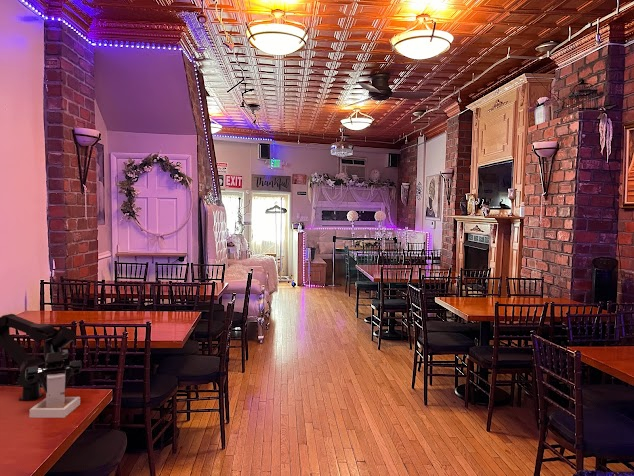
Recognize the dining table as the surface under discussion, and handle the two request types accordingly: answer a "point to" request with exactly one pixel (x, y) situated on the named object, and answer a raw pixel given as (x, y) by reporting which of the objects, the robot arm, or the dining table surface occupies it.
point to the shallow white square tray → (54, 409)
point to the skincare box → (55, 390)
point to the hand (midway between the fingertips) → (56, 390)
